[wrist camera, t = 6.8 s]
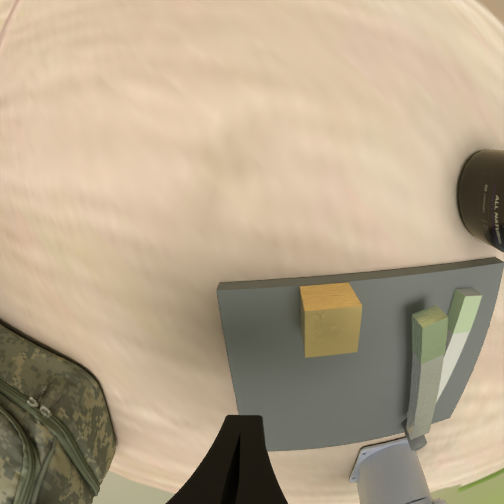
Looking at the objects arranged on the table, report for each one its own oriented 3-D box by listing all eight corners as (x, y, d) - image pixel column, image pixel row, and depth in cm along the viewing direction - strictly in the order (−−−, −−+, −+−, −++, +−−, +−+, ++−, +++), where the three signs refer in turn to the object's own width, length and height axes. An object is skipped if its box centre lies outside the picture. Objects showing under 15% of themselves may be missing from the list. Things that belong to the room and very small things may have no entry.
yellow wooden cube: (346, 324, 17) (357, 351, 14) (300, 328, 17) (304, 357, 15) (348, 282, 16) (362, 305, 13) (299, 286, 17) (304, 311, 14)
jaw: (423, 419, 18) (429, 432, 17) (405, 427, 19) (410, 440, 17) (436, 304, 15) (448, 317, 13) (411, 314, 15) (422, 327, 14)
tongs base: (446, 410, 22) (460, 438, 17) (248, 442, 24) (244, 478, 19) (495, 257, 16) (530, 278, 12) (219, 282, 18) (204, 319, 14)
